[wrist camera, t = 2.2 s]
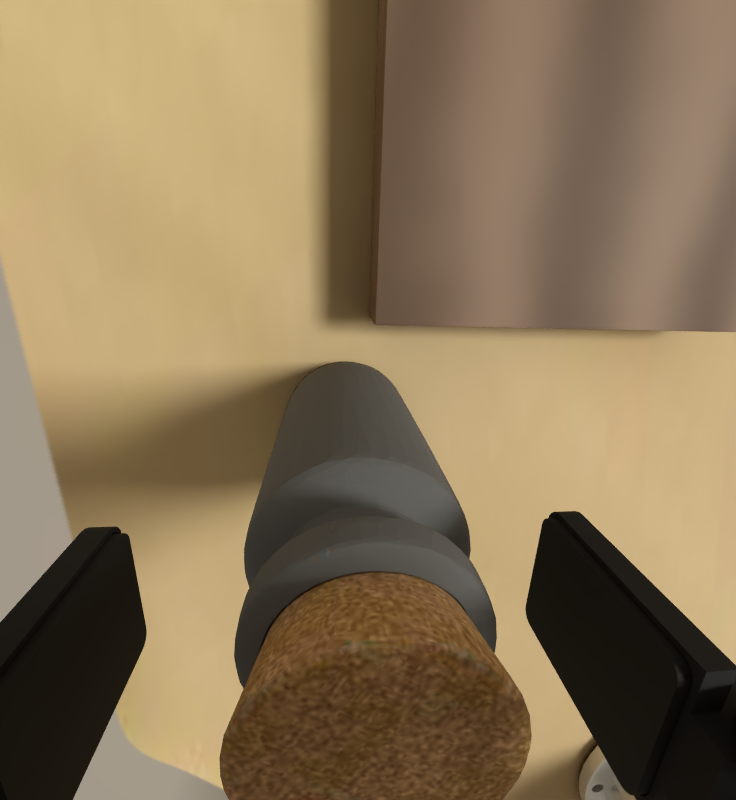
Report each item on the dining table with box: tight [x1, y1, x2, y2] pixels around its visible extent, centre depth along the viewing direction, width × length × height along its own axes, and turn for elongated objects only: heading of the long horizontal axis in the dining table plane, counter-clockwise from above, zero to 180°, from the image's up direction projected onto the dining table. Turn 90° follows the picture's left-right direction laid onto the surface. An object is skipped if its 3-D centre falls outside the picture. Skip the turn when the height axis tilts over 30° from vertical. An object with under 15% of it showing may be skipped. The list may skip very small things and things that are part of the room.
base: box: [369, 0, 736, 332], centre depth 16 cm, size 16×16×3 cm
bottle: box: [220, 362, 531, 800], centre depth 13 cm, size 6×6×15 cm
